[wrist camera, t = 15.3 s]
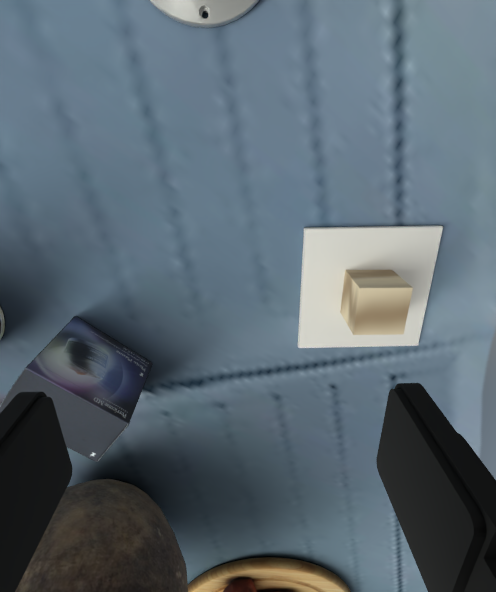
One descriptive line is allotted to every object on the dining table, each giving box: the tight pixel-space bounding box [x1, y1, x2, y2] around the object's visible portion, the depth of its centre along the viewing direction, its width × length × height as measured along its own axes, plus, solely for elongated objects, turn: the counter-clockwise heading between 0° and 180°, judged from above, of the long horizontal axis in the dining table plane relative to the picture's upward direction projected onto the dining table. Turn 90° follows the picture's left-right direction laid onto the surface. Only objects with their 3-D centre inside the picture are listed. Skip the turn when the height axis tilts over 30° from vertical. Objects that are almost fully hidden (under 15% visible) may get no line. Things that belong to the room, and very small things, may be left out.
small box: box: [0, 316, 152, 462], centre depth 37 cm, size 11×6×10 cm, turn 52°
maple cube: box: [340, 270, 413, 335], centre depth 36 cm, size 5×5×5 cm
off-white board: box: [298, 226, 443, 348], centre depth 39 cm, size 14×14×1 cm
